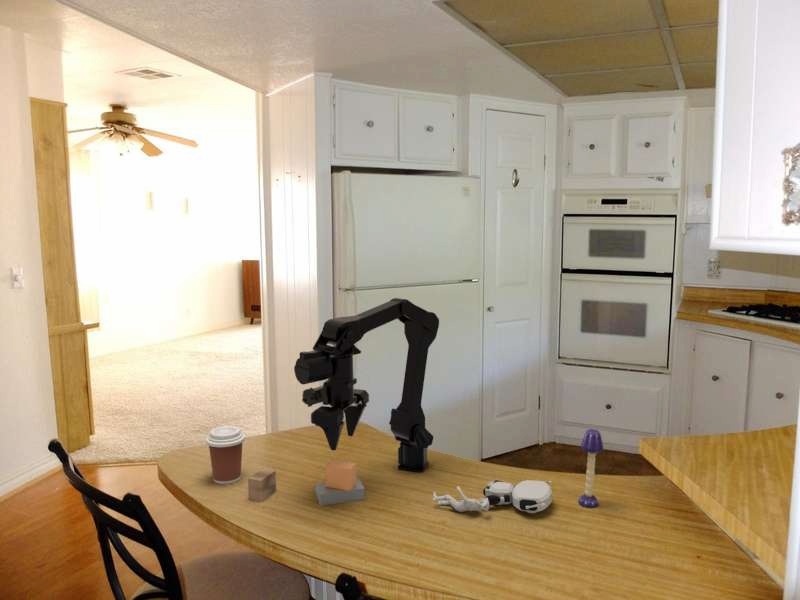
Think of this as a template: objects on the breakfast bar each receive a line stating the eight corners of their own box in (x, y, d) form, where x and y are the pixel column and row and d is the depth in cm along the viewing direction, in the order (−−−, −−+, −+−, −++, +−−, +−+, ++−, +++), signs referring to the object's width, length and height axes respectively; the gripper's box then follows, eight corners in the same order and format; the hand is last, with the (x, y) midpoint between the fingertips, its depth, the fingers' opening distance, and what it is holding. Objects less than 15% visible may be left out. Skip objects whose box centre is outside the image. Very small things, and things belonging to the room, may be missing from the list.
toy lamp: (602, 501, 139) (605, 429, 137) (599, 510, 135) (602, 435, 133) (580, 497, 141) (582, 426, 139) (576, 506, 137) (579, 432, 135)
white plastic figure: (445, 502, 142) (495, 494, 137) (444, 523, 139) (496, 516, 134) (429, 488, 137) (481, 479, 132) (428, 509, 134) (481, 502, 129)
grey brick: (358, 490, 147) (358, 477, 146) (364, 501, 141) (364, 488, 141) (315, 496, 144) (315, 483, 143) (320, 507, 138) (320, 494, 138)
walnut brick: (263, 488, 147) (262, 468, 146) (276, 491, 146) (275, 470, 145) (248, 499, 141) (247, 478, 141) (261, 502, 140) (261, 480, 140)
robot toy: (477, 515, 135) (548, 522, 130) (476, 495, 135) (547, 501, 130) (489, 492, 147) (555, 497, 141) (488, 473, 146) (554, 478, 141)
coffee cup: (216, 489, 146) (214, 440, 145) (201, 477, 153) (199, 429, 152) (253, 479, 152) (251, 431, 150) (236, 467, 159) (235, 421, 157)
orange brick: (356, 485, 143) (356, 463, 142) (349, 491, 139) (349, 469, 139) (332, 480, 145) (332, 459, 144) (325, 486, 141) (325, 465, 141)
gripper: (326, 363, 152) (328, 425, 155) (287, 383, 135) (290, 453, 137) (369, 366, 149) (370, 430, 151) (335, 388, 131) (337, 459, 133)
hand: (342, 442), depth 143 cm, fingers open, 9 cm apart
